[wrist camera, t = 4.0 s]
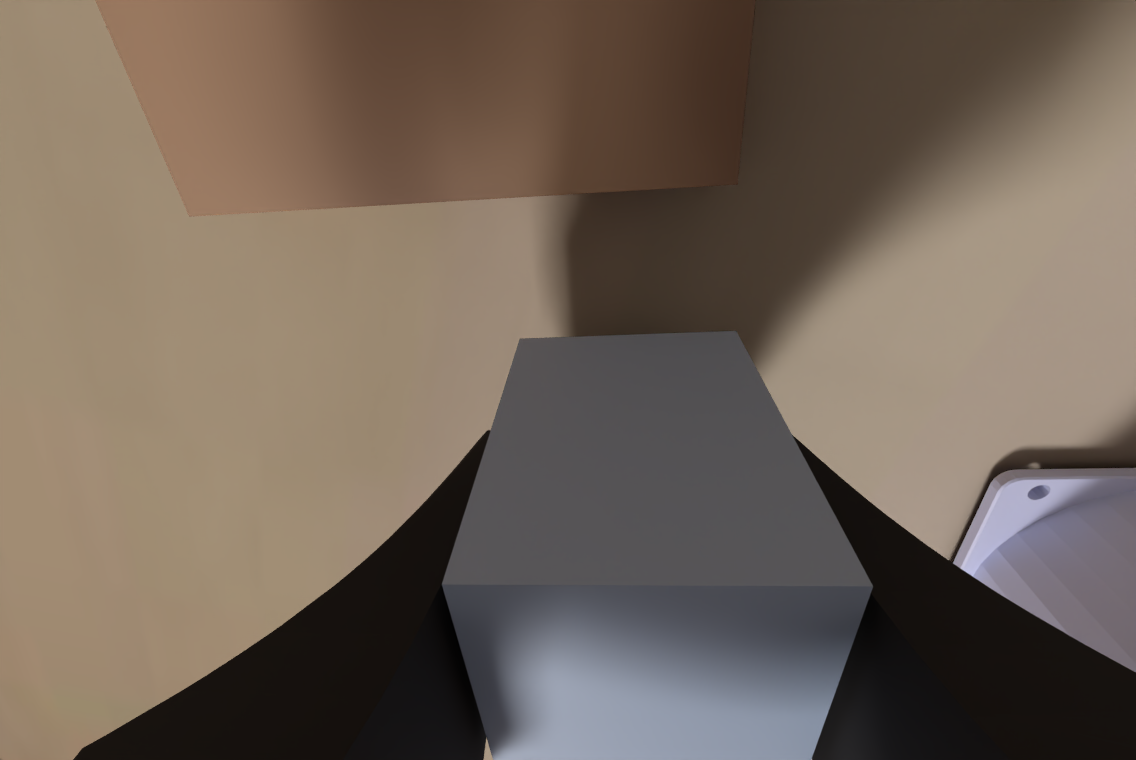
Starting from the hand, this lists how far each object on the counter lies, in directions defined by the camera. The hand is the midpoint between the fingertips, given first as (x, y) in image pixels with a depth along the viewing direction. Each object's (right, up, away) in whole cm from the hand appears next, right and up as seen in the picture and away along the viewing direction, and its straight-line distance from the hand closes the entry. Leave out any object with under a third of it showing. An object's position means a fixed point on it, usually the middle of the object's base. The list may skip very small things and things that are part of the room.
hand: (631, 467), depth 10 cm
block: (0, +1, +1) cm, 2 cm away
